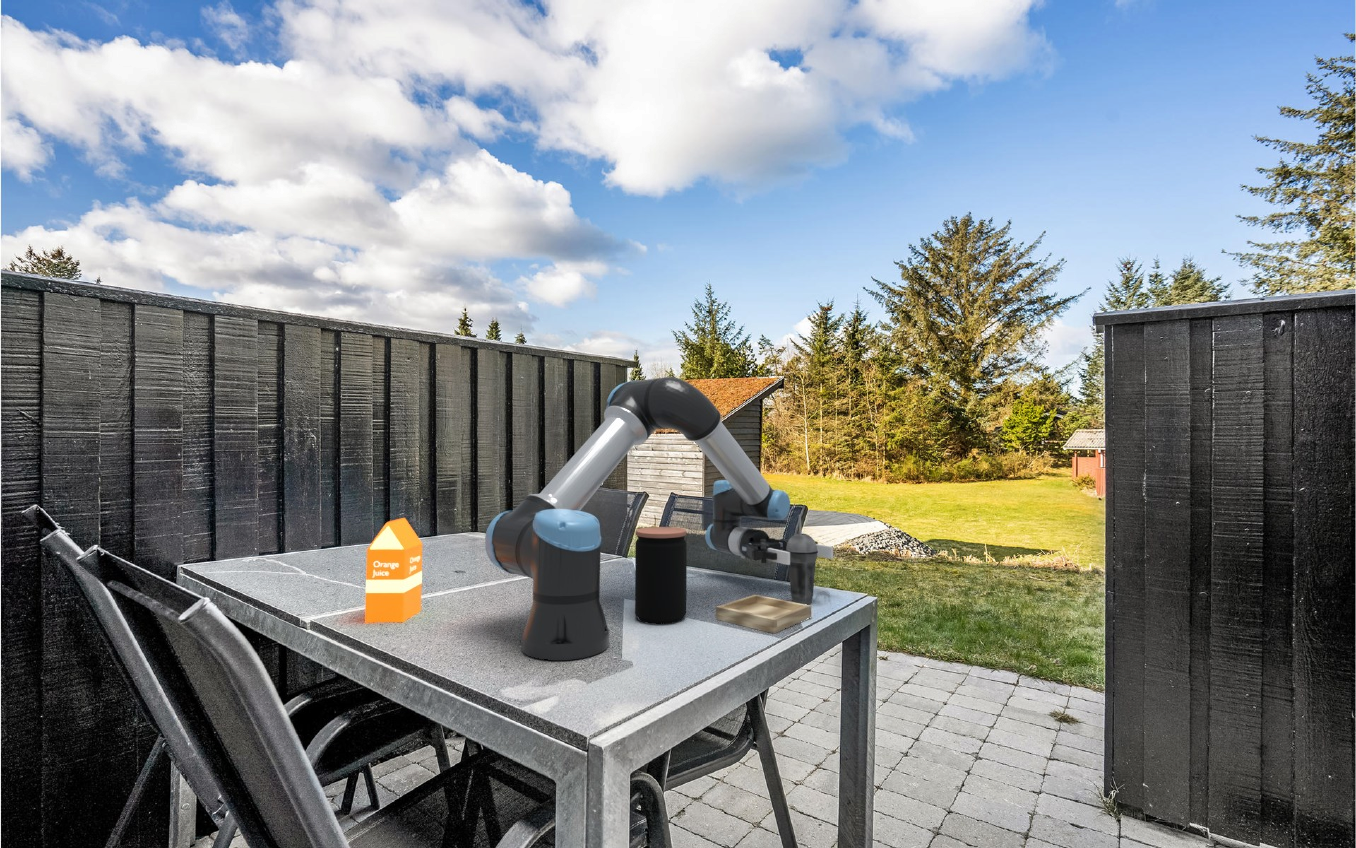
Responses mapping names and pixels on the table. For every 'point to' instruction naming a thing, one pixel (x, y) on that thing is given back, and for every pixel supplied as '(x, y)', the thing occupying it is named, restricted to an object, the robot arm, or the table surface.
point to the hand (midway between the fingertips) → (811, 555)
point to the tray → (763, 613)
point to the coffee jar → (660, 575)
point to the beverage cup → (802, 566)
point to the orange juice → (393, 574)
